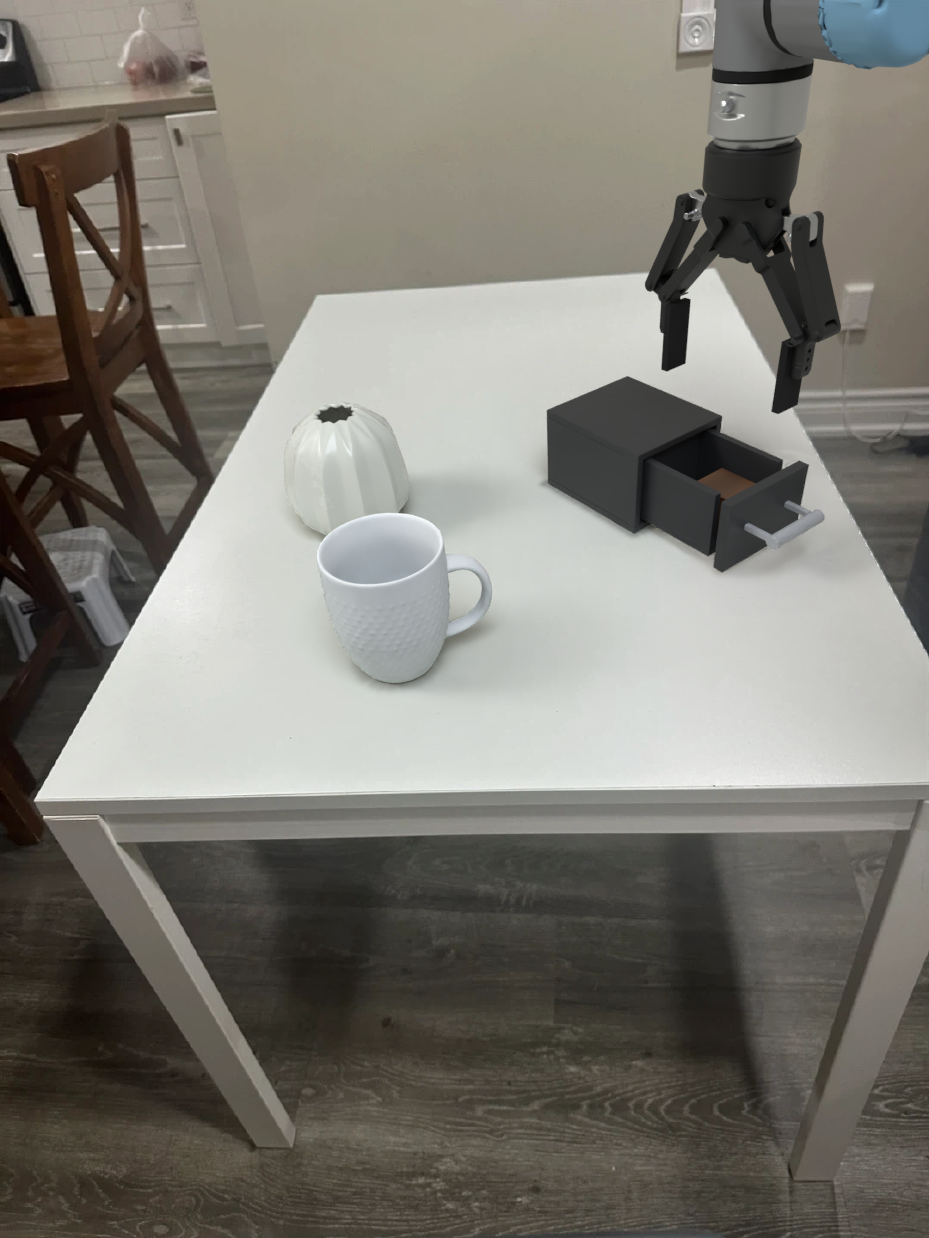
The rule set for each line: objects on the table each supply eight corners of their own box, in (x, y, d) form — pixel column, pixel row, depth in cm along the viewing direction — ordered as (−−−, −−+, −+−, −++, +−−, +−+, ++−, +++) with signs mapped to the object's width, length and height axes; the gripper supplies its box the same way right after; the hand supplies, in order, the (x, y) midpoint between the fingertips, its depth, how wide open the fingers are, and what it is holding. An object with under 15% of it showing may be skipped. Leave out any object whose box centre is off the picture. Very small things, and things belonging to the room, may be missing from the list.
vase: (435, 517, 100) (423, 411, 92) (333, 566, 94) (309, 457, 86) (372, 474, 109) (355, 373, 100) (274, 517, 103) (247, 413, 94)
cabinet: (713, 492, 100) (722, 415, 93) (634, 533, 94) (638, 456, 88) (624, 447, 109) (627, 375, 103) (547, 483, 104) (546, 409, 98)
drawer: (830, 546, 88) (845, 480, 83) (755, 592, 84) (767, 525, 79) (698, 481, 100) (705, 419, 95) (626, 518, 95) (629, 455, 90)
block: (750, 520, 91) (756, 483, 88) (722, 537, 89) (726, 499, 86) (717, 503, 94) (721, 467, 91) (688, 519, 92) (692, 483, 89)
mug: (482, 605, 87) (472, 494, 79) (510, 678, 79) (502, 561, 70) (335, 635, 85) (309, 524, 77) (348, 712, 77) (321, 597, 68)
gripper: (612, 132, 76) (607, 362, 90) (862, 167, 60) (810, 443, 73) (672, 116, 80) (658, 341, 93) (925, 146, 63) (865, 414, 76)
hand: (725, 386), depth 83 cm, fingers open, 13 cm apart
